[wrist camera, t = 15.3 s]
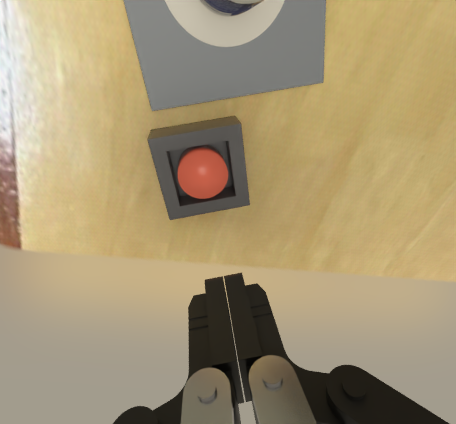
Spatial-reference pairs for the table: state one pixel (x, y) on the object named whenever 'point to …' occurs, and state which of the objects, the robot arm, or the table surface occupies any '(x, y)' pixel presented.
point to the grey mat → (226, 49)
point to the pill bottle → (230, 6)
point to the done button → (202, 171)
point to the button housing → (195, 136)
